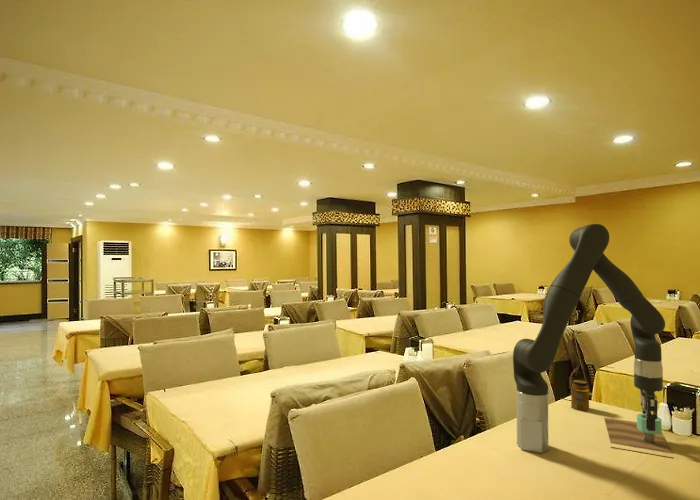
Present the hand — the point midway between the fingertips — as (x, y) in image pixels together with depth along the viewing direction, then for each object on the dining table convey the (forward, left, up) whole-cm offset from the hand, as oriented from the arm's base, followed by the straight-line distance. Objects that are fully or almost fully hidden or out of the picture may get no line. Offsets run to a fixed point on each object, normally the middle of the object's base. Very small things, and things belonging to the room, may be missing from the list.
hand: (648, 426), depth 135 cm
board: (+5, +3, -6) cm, 8 cm away
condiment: (+23, +19, -7) cm, 30 cm away
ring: (0, 0, -1) cm, 1 cm away
